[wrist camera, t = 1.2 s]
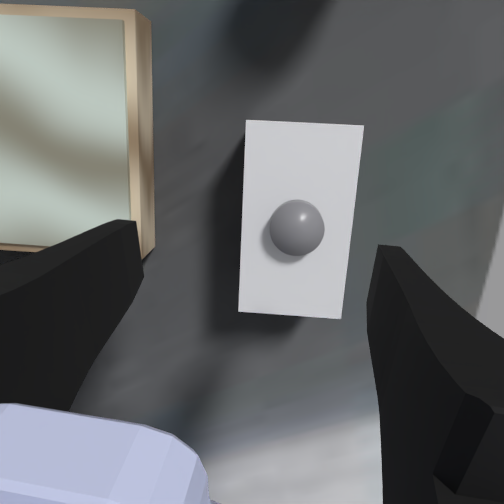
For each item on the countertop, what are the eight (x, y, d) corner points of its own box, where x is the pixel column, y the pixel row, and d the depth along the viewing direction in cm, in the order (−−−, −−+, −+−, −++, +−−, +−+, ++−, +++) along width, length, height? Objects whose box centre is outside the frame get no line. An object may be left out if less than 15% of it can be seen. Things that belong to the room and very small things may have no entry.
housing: (329, 281, 25) (343, 326, 20) (246, 275, 26) (236, 318, 20) (346, 124, 23) (367, 125, 17) (253, 120, 23) (244, 119, 17)
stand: (155, 246, 25) (140, 261, 22) (-39, 233, 26) (-76, 246, 23) (150, 21, 22) (132, 7, 19) (-75, 11, 22) (-123, -3, 19)
